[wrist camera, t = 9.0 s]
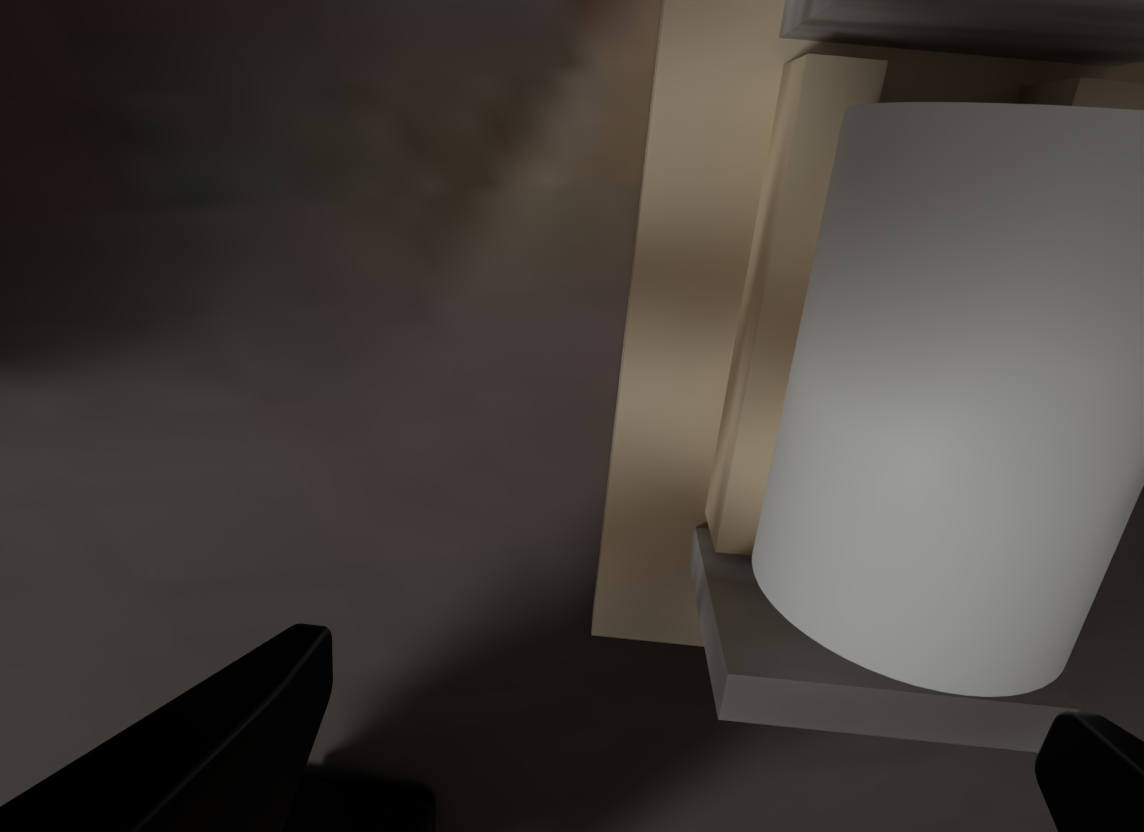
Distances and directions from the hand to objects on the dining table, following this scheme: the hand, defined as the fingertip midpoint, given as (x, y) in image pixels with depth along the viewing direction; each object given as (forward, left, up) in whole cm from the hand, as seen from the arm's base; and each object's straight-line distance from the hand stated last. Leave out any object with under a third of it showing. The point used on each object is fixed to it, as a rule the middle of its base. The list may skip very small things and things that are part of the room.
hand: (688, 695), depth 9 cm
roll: (+3, -5, -9) cm, 11 cm away
